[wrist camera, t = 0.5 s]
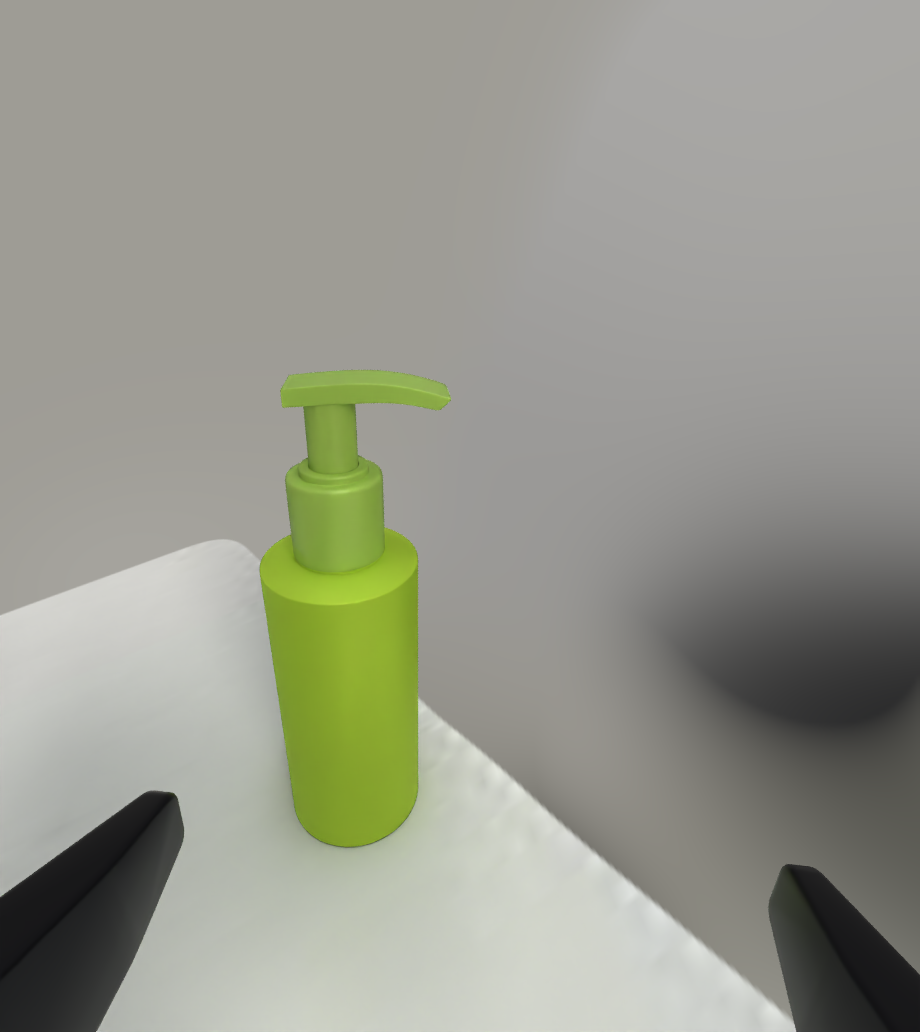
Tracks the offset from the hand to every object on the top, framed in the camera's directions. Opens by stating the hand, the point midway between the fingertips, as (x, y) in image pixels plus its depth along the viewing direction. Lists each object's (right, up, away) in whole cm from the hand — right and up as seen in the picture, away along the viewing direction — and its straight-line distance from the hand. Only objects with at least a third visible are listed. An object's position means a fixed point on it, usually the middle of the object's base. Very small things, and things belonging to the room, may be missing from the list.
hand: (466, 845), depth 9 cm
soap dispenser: (-5, -8, +20) cm, 22 cm away
